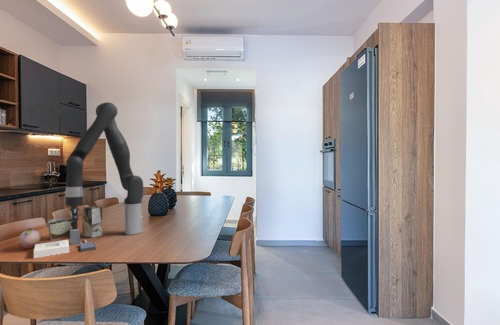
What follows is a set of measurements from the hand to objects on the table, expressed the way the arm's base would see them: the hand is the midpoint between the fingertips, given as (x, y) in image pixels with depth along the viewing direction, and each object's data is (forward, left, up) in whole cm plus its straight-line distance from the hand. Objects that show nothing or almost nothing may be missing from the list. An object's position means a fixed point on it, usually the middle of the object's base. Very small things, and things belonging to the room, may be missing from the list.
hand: (74, 227), depth 143 cm
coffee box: (-9, -13, -9) cm, 18 cm away
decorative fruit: (+18, -4, -9) cm, 20 cm away
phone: (-5, +6, -8) cm, 12 cm away
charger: (0, 0, -8) cm, 8 cm away
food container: (+7, -20, -9) cm, 23 cm away
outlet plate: (+9, +8, -8) cm, 15 cm away
